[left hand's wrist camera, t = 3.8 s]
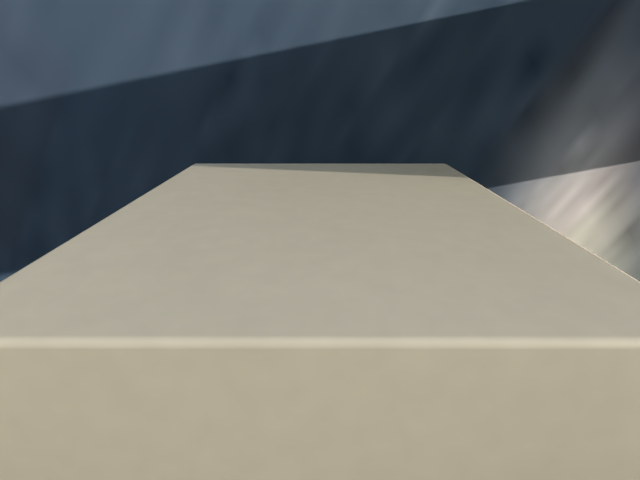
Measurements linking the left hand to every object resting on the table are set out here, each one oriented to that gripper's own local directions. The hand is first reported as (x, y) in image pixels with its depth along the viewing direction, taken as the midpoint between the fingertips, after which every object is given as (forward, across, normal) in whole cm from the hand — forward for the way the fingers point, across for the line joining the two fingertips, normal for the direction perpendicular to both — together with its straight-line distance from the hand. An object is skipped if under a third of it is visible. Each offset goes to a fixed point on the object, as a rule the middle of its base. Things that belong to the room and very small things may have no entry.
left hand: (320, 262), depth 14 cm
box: (+1, 0, -10) cm, 10 cm away
